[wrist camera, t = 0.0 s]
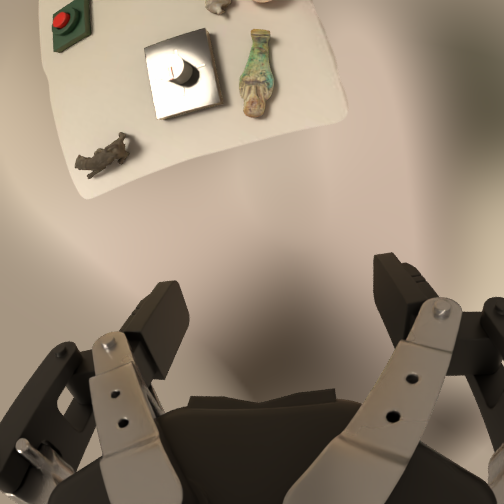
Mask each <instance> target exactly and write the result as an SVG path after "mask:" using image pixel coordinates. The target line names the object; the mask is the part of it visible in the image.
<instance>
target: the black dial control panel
mask: <svg viewBox="0 0 504 504" xmlns="http://www.w3.org/2000/svg"><path fill="white" fill-rule="evenodd" d="M144 50H145V57H146V63H147V69H148V75H149V80H150V86H151V91H152V97H153V102H154V107H155V112H156V117H157V120H165V119H168V118H172V117H175V116H179V115H182V114H186V113H189V112H193V111H197V110H201V109H205V108H209V107H213V106H217V105H222V104H224V103H223V98H222V93H221V88H220V83H219V78H218V73H217V68H216V63H215V59H214V54H213V49H212V44H211V39H210V34H209V32H208V31H207V30H206V29H205V28H203V29H199V30H196V31H192V32H189V33H186V34H183V35H179V36H176V37H173V38H170V39H167V40H165V41H162V42H159V43H156V44H154V45H151V46H148V47H146V48H144ZM170 54H175V55H178V56H180V57H181V58H183V59H184V60H186V61H187V62H189V63H190V64H191V66H192V70H193V72H192V75H191V77H190V79H189V80H188V81H187V82H185V83H183V84H179V85H177V84H173V83H170V82H168V81H165V80H162V79H161V78H160V77H159V76H158V74H157V65H158V63H159V61H160V60H161V59H162V58H163V57H165V56H167V55H170Z"/></svg>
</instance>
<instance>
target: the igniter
mask: <svg viewBox="0 0 504 504" xmlns="http://www.w3.org/2000/svg"><path fill="white" fill-rule="evenodd" d="M61 12H65V13H67V14H69V15H70V20H69V22H68V24H67V25H66V26H65V27H64V28H61V29H60V28H56V27H54V26H53V24H52V32H53V49H54V52H58V53H60V52H62V51H63V50H65V49H67V48H68V47H70V46H71V45H73V44H75V43H76V42H78V41H80V40H82V39H83V38H85V37H87V36H89V35H90V34H91V26H90V7H89V0H74V1H73V2H71V3H69V4H68V5H66V6H65V7H63V8H62V9H60V10H59V11H57V12H56V13H55V14H53V21H54V18H55V17H56V16H57V15H58V14H59V13H61Z"/></svg>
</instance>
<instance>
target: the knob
mask: <svg viewBox="0 0 504 504" xmlns="http://www.w3.org/2000/svg"><path fill="white" fill-rule="evenodd" d="M192 72H193V70H192V66H191V64H190V63H189V62H187V61H186V60H184V59H183V58H181V57H180V56H178V55H175V54H170V55H167V56H165V57H163V58H162V59H161V60H160V61H159V63H158V65H157V74H158V76H159V77H160V78H161V79H162V80H165V81H168V82H170V83H173V84H177V85H179V84H183V83H185V82H187V81H188V80H189V79H190V77H191V75H192Z"/></svg>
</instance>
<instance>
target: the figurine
mask: <svg viewBox="0 0 504 504" xmlns="http://www.w3.org/2000/svg"><path fill="white" fill-rule="evenodd" d="M251 36H252V40H253V45H252V48H251V51H250V56H249V59H248V62H247V65H246V67H245V70H244V72H243V74H242V75H241V77H240V83H239V89H240V95H241V97H242V98H244V110H243V111H244V113H245V115H247V116H248V117H259V116H261V115H262V114H263V113H264V110H265V101H266V100H267V99H269V98H270V96H271V94H272V91H273V87H274V77H273V75H272V73H271V69H270V65H269V59H268V54H269V49H268V41H269V38H270V31H268V30H261V29H253V30H251Z"/></svg>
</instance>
